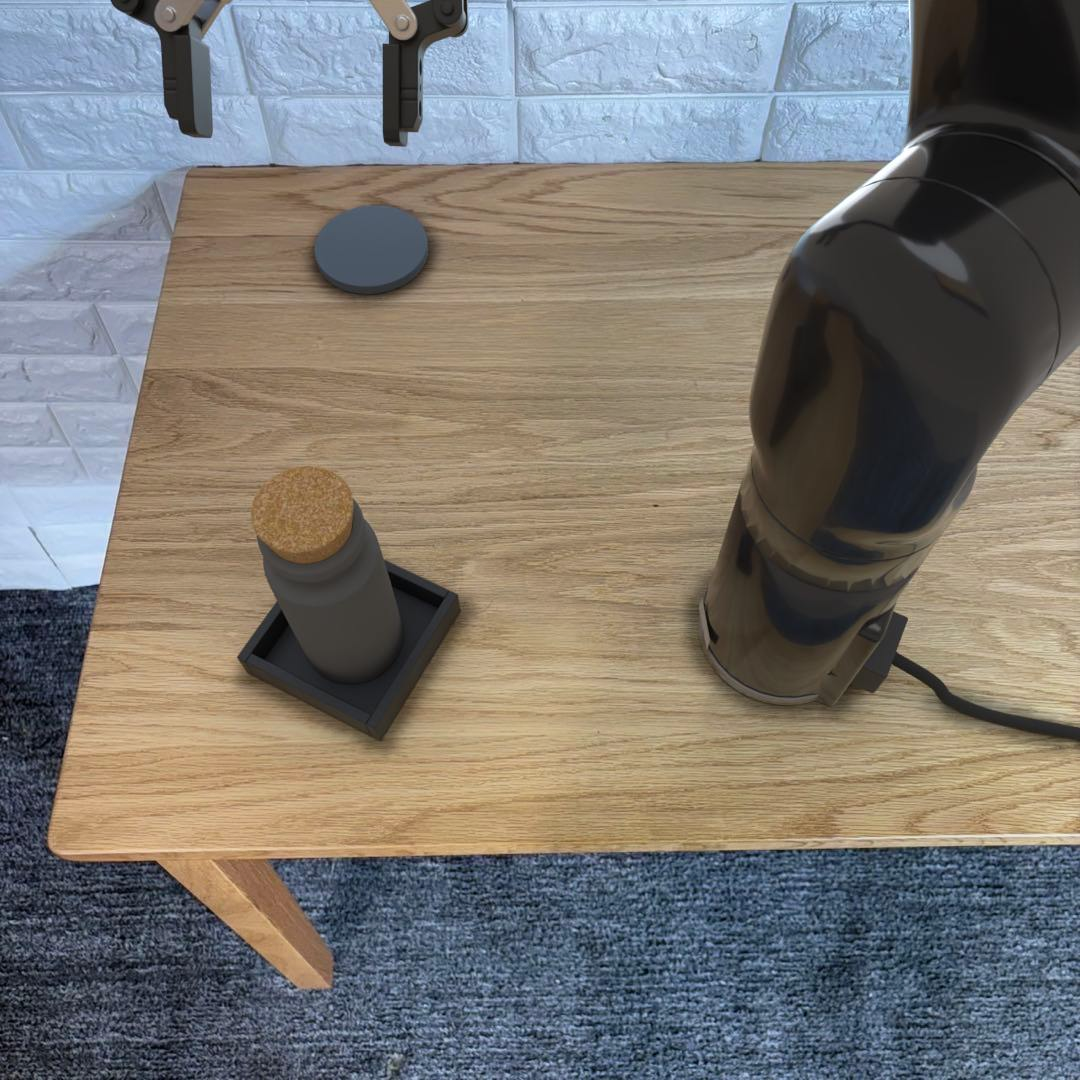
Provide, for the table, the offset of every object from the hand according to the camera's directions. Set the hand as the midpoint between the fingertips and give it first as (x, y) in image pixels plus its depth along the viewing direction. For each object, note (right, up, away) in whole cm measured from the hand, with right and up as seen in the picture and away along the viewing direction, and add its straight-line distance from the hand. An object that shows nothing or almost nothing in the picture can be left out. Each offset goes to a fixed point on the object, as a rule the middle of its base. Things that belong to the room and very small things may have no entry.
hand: (296, 140), depth 42 cm
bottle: (-1, -23, +17) cm, 28 cm away
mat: (-2, +5, +33) cm, 33 cm away
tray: (-1, -23, +17) cm, 29 cm away
